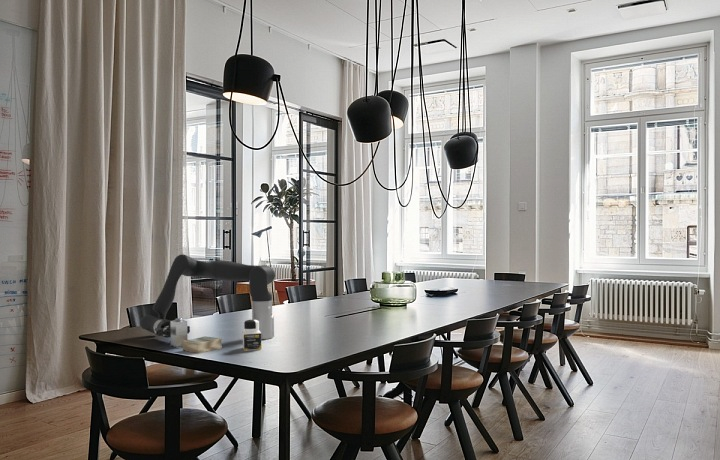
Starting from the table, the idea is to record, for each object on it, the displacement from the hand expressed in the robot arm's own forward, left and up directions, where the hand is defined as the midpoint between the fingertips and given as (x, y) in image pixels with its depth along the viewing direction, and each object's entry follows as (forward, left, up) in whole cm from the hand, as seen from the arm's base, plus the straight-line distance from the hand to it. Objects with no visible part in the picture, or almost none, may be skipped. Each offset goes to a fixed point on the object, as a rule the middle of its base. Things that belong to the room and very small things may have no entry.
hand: (178, 332), depth 251 cm
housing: (0, 0, -6) cm, 6 cm away
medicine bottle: (-13, +31, -6) cm, 34 cm away
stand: (-1, +14, -6) cm, 16 cm away
